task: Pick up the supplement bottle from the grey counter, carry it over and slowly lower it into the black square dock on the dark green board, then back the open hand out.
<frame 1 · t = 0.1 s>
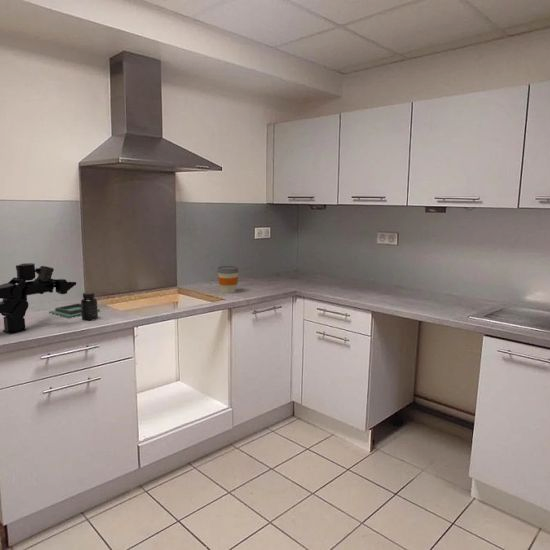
hand: (69, 282, 194), 17 cm above the worktop, tool horizontal, fingers open, 9 cm apart
supplement bottle: (90, 319, 195), on the worktop
dock board: (74, 312, 206), on the worktop
reusable coffee cup: (228, 292, 260), on the worktop
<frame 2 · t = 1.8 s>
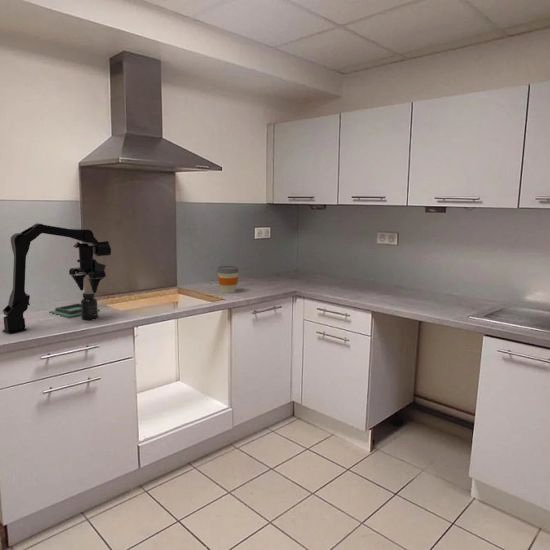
hand: (88, 291, 193), 13 cm above the worktop, tool pointing down, fingers open, 9 cm apart
nothing on the worktop moved.
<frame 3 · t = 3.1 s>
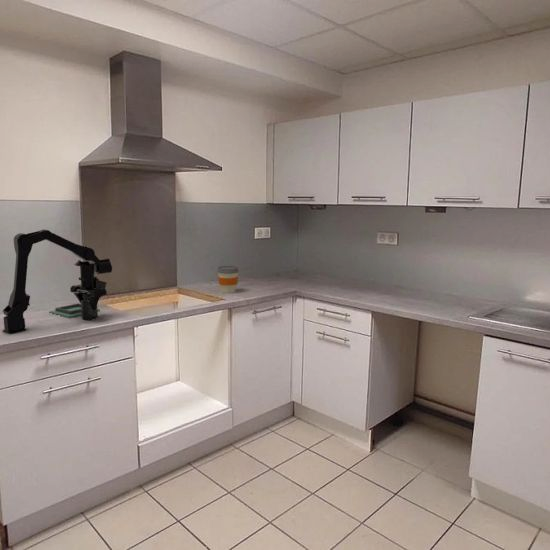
hand: (89, 308, 195), 5 cm above the worktop, tool pointing down, fingers closed on supplement bottle, 7 cm apart
supplement bottle: (90, 319, 195), on the worktop, touching gripper
everything else where it was.
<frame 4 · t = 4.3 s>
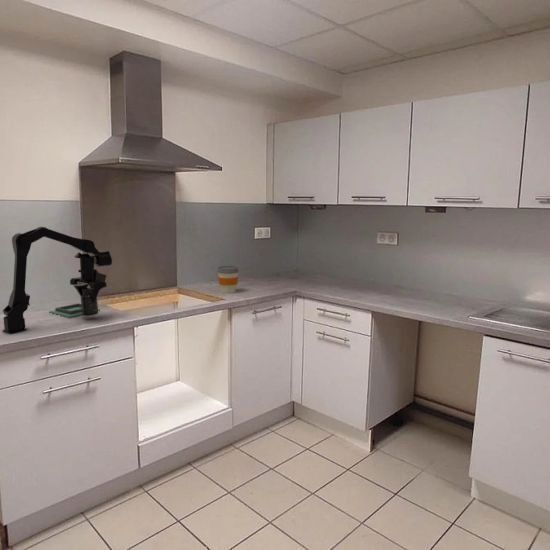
hand: (89, 301, 194), 8 cm above the worktop, tool pointing down, fingers closed on supplement bottle, 7 cm apart
supplement bottle: (90, 314, 195), point 2 cm above the worktop, touching gripper
everything else where it was.
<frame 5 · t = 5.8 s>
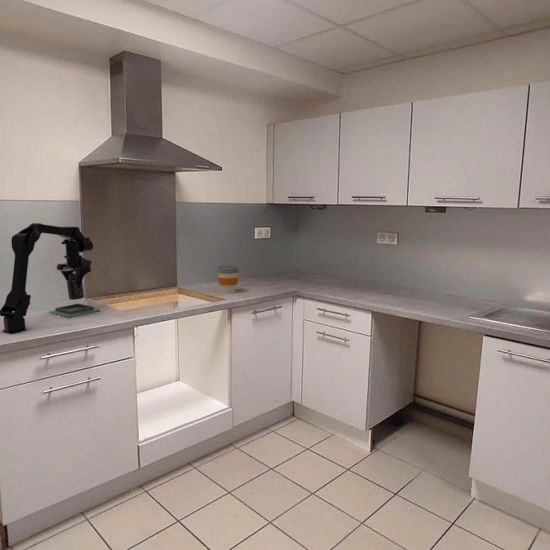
hand: (74, 286, 203), 13 cm above the worktop, tool pointing down, fingers closed on supplement bottle, 7 cm apart
supplement bottle: (76, 298, 204), point 7 cm above the worktop, touching gripper
everything else where it was.
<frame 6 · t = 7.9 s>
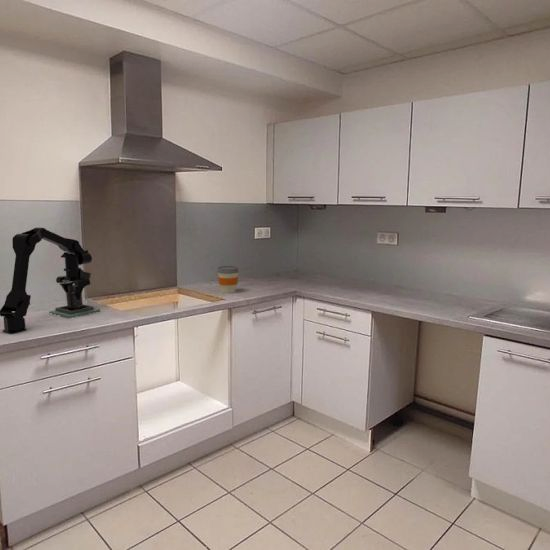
hand: (74, 298, 205), 7 cm above the worktop, tool pointing down, fingers closed on supplement bottle, 7 cm apart
supplement bottle: (75, 310, 206), point 1 cm above the worktop, touching dock board, gripper
everything else where it was.
when the fingers open (7 cm above the worktop, at t = 8.0 s): supplement bottle stays where it is, resting on dock board.
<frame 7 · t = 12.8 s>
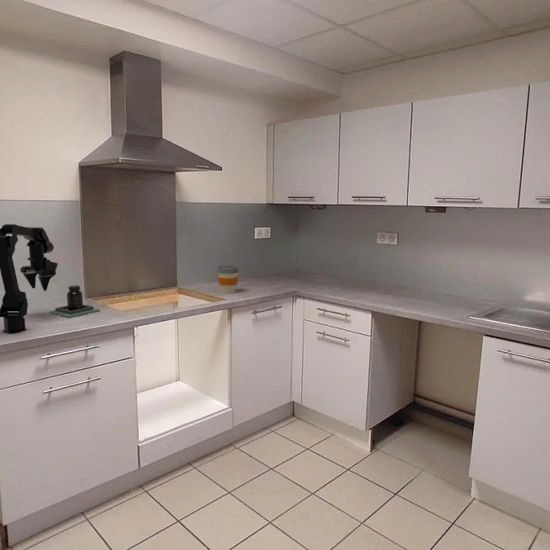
hand: (39, 289, 195), 13 cm above the worktop, tool pointing down, fingers open, 9 cm apart
supplement bottle: (75, 310, 206), point 1 cm above the worktop, touching dock board
everything else where it was.
at the end: supplement bottle 0.8 cm off-centre on the dock board, point 0.8 cm above the dock board's base; supplement bottle tilted 0°; the gripper is holding nothing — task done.
